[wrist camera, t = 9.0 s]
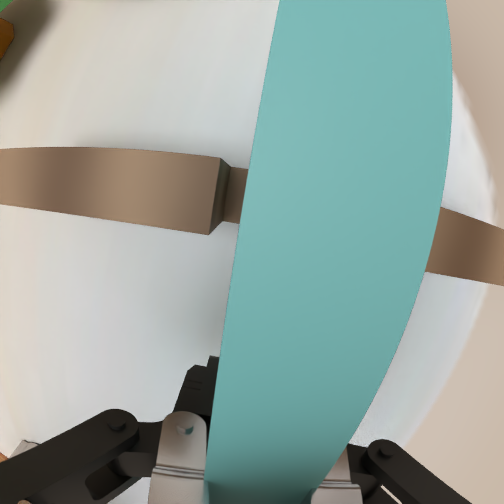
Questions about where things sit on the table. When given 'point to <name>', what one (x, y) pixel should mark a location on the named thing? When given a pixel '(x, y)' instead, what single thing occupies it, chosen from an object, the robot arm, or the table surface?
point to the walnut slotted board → (197, 199)
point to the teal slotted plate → (328, 237)
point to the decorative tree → (5, 30)
